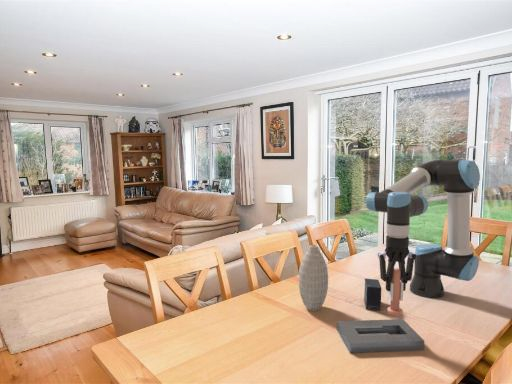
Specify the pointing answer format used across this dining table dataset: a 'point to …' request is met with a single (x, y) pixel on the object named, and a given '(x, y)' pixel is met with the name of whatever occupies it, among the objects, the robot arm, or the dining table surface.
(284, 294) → the dining table surface
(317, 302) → the vase
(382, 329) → the grey slotted plate
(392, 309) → the stud
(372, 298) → the small box
